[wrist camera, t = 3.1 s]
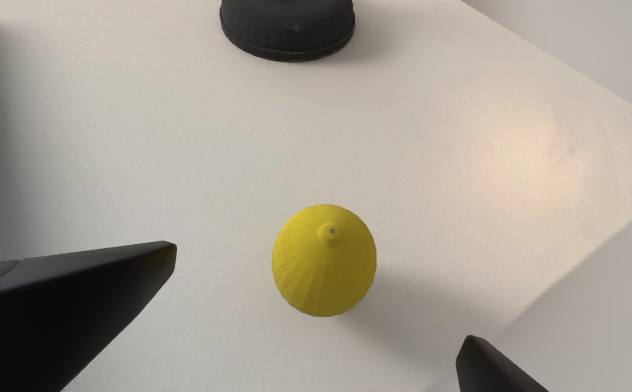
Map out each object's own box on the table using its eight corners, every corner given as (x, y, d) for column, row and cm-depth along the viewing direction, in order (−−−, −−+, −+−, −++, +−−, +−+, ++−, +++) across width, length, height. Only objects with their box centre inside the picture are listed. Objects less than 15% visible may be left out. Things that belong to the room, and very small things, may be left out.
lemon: (361, 327, 18) (404, 301, 11) (271, 324, 18) (257, 295, 11) (357, 243, 21) (389, 180, 14) (279, 238, 20) (272, 173, 14)
